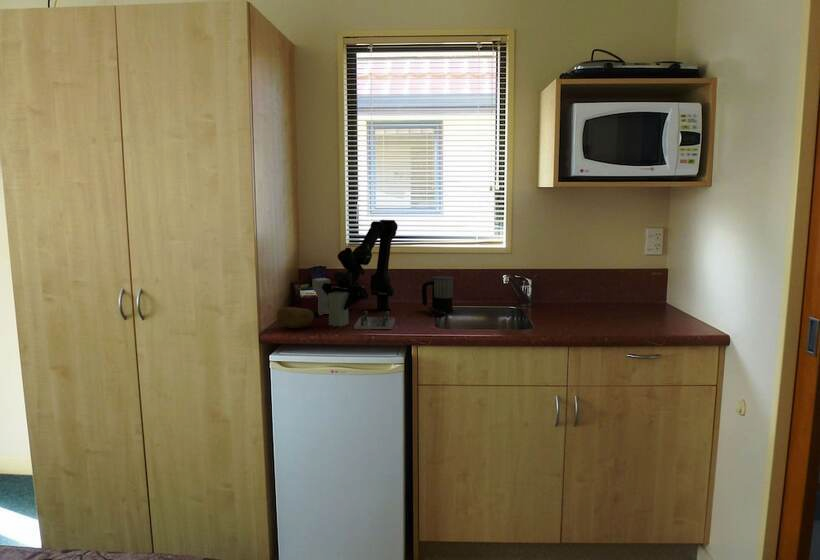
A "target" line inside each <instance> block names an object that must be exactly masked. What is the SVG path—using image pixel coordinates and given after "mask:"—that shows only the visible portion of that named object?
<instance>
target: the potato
mask: <svg viewBox="0 0 820 560" xmlns="http://www.w3.org/2000/svg"><path fill="white" fill-rule="evenodd" d="M314 313H315V312H314V311H313V310H311V309H309V308H302V307H295V306H284V307H281V308H279V309H278V310H277V313H276V317H277V320H278V322H279V323H280V324H282V326H284V327H285V328H289V329H300V328H305V327H307V326H308V325H309V324H310V323H311V322H313V320H314V316H315V314H314Z"/></svg>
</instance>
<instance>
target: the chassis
mask: <svg viewBox="0 0 820 560" xmlns="http://www.w3.org/2000/svg"><path fill="white" fill-rule="evenodd" d="M368 314H369V311H368V310H364V311H363V316H362V315H361V316H360V317H359V318H358V320H357V321H356V322H355V324H354V325H353V330H372V329H391V330H392V329H393V327H394V324H395V321H396V318H395V317H393V316H392V317H390V311H389V310H385V313H384V315H385V316H384V315H383V316H379V317H378V316H376V317H375V316H374V317H373V316H369V315H368ZM368 316H369V317H368ZM392 326H393V327H392Z"/></svg>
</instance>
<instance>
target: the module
mask: <svg viewBox="0 0 820 560" xmlns="http://www.w3.org/2000/svg"><path fill="white" fill-rule="evenodd" d="M348 297H349V294H348V292H338V291H337V292H333V293H329V294H328V305H329V315H328V326H329V325H333V326H332V327H335V326H339V327H338V328H341V327H344V326H346V324H347V325H349V308H348V309H346V310H344V306H345V304H346V301H347V299H348ZM343 325H344V326H343ZM340 326H341V327H340Z"/></svg>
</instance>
